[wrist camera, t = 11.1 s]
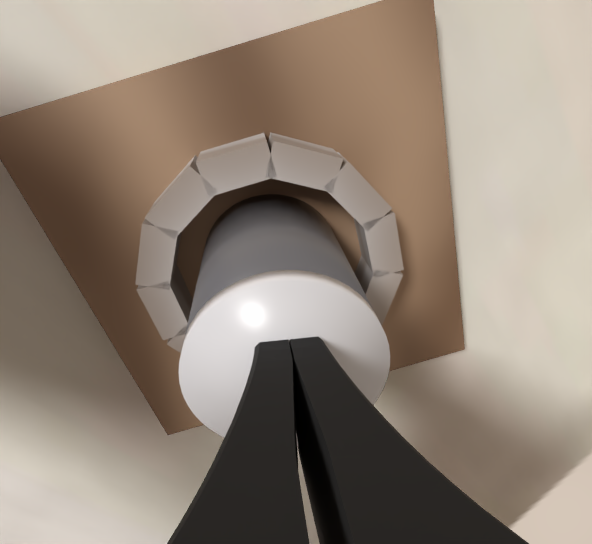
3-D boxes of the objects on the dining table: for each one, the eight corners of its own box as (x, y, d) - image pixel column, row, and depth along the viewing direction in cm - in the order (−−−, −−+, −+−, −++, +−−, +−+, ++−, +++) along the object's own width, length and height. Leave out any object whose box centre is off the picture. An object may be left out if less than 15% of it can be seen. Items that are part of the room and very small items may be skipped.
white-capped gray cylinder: (211, 319, 15) (192, 457, 10) (196, 197, 13) (162, 289, 8) (335, 310, 16) (381, 439, 10) (339, 191, 14) (400, 274, 8)
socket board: (171, 417, 18) (161, 465, 16) (-3, 119, 12) (-56, 132, 10) (453, 335, 18) (483, 373, 16) (418, -10, 12) (457, -25, 10)
